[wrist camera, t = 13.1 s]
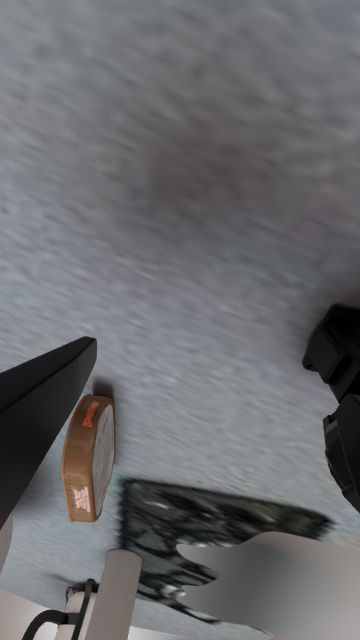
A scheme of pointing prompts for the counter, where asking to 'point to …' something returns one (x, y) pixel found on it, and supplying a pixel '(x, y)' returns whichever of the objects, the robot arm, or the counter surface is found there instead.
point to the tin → (88, 457)
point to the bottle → (115, 597)
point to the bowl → (5, 540)
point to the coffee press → (68, 616)
